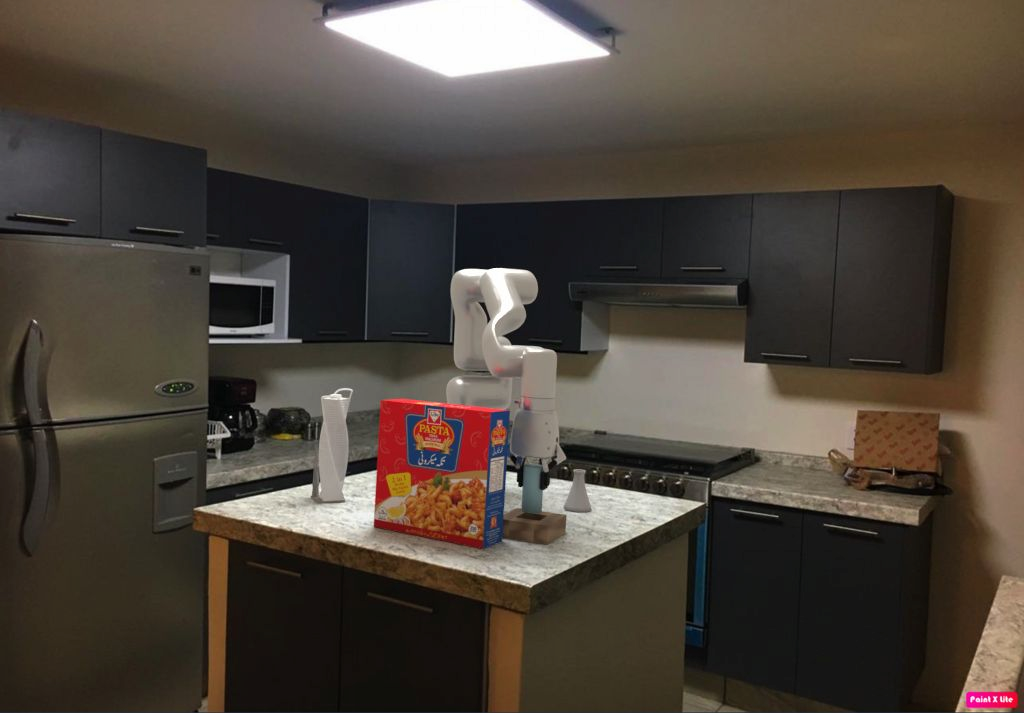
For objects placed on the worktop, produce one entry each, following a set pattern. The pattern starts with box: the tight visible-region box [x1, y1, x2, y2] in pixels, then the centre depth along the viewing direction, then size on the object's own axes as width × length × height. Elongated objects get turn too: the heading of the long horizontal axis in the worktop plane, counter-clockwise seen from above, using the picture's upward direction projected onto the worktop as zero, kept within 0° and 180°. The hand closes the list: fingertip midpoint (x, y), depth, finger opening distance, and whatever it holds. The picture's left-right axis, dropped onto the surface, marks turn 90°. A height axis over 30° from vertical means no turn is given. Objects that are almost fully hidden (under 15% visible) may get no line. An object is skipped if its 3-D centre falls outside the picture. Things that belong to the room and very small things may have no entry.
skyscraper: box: [310, 387, 354, 504], centre depth 210 cm, size 8×8×28 cm
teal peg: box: [521, 463, 544, 513], centre depth 186 cm, size 4×4×10 cm
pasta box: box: [373, 398, 511, 549], centre depth 182 cm, size 28×8×28 cm, turn 61°
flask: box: [563, 468, 592, 513], centre depth 213 cm, size 7×7×10 cm
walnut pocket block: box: [502, 507, 567, 545], centre depth 186 cm, size 12×12×4 cm
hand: (532, 486), depth 186 cm, fingers closed on teal peg, 4 cm apart
